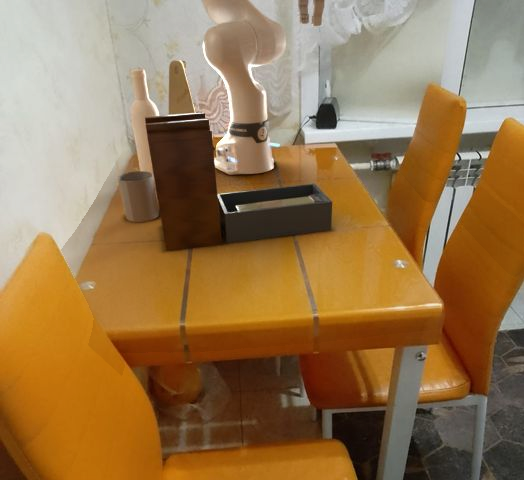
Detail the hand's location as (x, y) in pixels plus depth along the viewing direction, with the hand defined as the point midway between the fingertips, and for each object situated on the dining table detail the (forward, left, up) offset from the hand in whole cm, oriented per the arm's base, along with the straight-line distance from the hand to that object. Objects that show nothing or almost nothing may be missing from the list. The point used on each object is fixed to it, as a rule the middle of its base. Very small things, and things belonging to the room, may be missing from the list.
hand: (310, 24), depth 109 cm
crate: (+8, -20, -39) cm, 44 cm away
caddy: (-60, +6, -39) cm, 72 cm away
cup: (-22, -38, -39) cm, 59 cm away
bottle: (-41, -22, -39) cm, 61 cm away
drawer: (+8, -18, -38) cm, 43 cm away
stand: (-2, -37, -39) cm, 54 cm away
